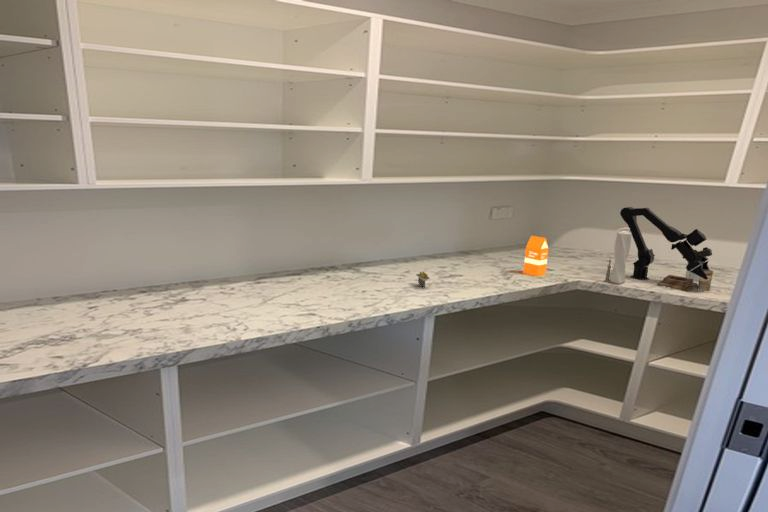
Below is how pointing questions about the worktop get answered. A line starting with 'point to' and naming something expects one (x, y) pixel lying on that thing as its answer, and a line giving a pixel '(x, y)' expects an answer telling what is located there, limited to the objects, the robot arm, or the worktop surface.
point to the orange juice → (536, 256)
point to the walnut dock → (677, 282)
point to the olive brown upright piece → (422, 278)
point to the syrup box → (692, 275)
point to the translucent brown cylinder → (705, 281)
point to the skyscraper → (619, 257)
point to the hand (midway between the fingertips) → (709, 277)
